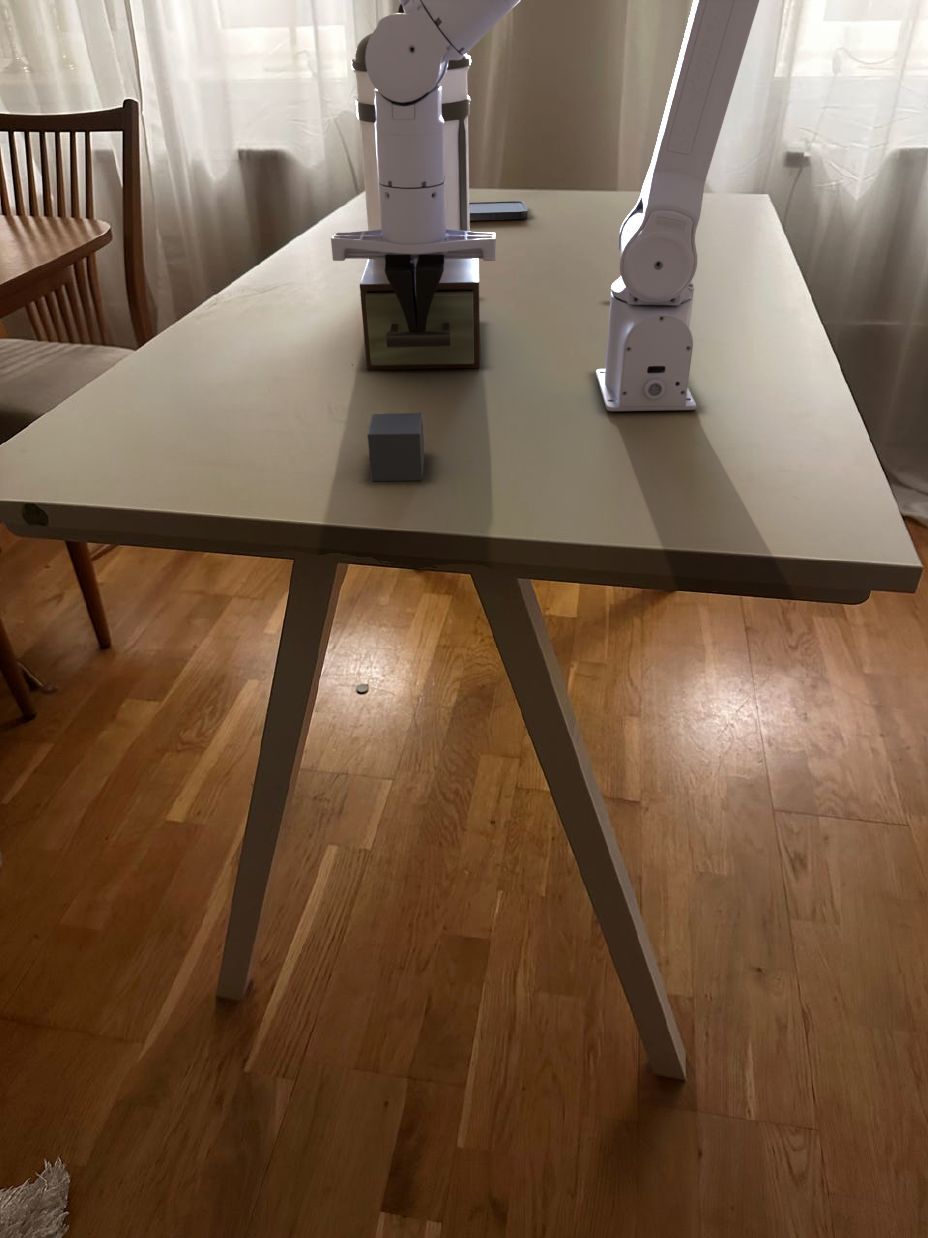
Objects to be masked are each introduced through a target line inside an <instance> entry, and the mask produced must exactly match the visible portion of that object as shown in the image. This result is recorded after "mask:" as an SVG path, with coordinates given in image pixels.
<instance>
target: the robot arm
mask: <svg viewBox="0 0 928 1238" xmlns="http://www.w3.org/2000/svg"><path fill="white" fill-rule="evenodd" d="M398 2H399V3H400V4H402V6H403V9H404V12H405V13H398V12H397V13H392V14H391V13H390V14H388V15H386V16H383V17H382V18H381V19H380V20H379V21H378V22H377V25H376V27H375V29H373V32H372V35H371V37H370V39H369V41H368V44H367V48H366V55H365V61H366V69H367V72H368V75H369V78H370V80H371V82H372V84H373V85H374V87H375V88H376V89H375V107H376V122H375V131H376V148H377V165H378V183H379V200H380V217H381V230H371V231H368V230H361V231H349V232H347V231H346V232H334V233H332V236H331V238H330V245H331V256H332V261H333V262H343V261H344V262H345V260H346V259H347V260H349V259H350V260H352V259H353V260H355V259H356V260H360V259H361V260H362V259H363V260H364V259H365V260H369V259H385V274H386V277H387V279H388V281H389V283H390V284H391V286H392V288H393V290H394V292H395V294H396V296H397V298H398V300H399V302H400V305H401V307H402V310H403V313H404V315H405V319H406V322H407V325H408V330H409V332H424V331H426V322H427V317H428V313H429V309H430V306H431V303H432V299H433V297H434V294H435V291H436V289H437V286H438V284H439V282H440V279H441V277H442V274H443V271H444V264H445V259H479V260H482V261H484V262H495V261H496V245H497V244H496V241H497V239H496V238H497V237H496V236H497V235H496V234H497V233H496V232H481V231H480V232H479V231H470V232H469V231H459V230H449V229H446V210H445V158H444V121H443V119H442V108H441V86H438V84H439V83H440V81H441V80H442V78H443V77H444V75H445V72H446V70H447V66H448V61H449V60H460V59H462V58H463V57H464V55H466V54H467V55H468V53H469V52H470V51H471V50H472V49H473V48H474V47H475V46H476V45H477V44H478V43H479V42H480V41H481V40H482V39H483V38H484V37H485V36H486V35H487V34H488V33H490V31H492V29H493V28H495V26H496V25H498V23H500V21H501V20H503V18H504V17H506V15H507V14H508V13H510V12H511V10H512V9H513V8H515V7H516V6H517V5H518V4H519V3H520V2H521V0H398ZM759 4H760V0H693V2H692V6H691V11H690V15H689V17H688V22H687V26H686V29H685V33H684V38H683V41H682V44H681V47H680V48H681V49H680V52H679V56H678V60H677V63H676V67H675V71H674V75H673V78H672V82H671V86H670V90H669V94H668V97H667V100H666V101H667V102H666V105H665V109H664V113H663V117H662V121H661V125H660V128H659V131H658V136H657V140H656V143H655V147H654V151H653V155H652V159H651V163H650V166H649V168H648V171H647V173H646V176H645V179H644V181H643V184H642V188H641V192H640V195H639V197H638V201H637V203H636V205H635V206H634V207H633V208H632V210H631V211H630V212H629V214H628V215H627V216H625V217H626V218H625V219H624V221H623V222H622V224H621V227H620V229H619V233H618V249H619V253H620V257H619V275H620V277H618V279H616V280H615V281H614V282H613V283H612V284H611V288H610V301H609V302H610V303H609V304H610V305H609V314H608V315H609V317H608V328H607V340H606V341H607V342H606V346H607V347H606V354H605V355H606V356H605V368H598V369H596V371H595V375H596V378H597V383H598V386H599V389H600V392H601V396H602V398H603V399H602V400H603V402H604V405H605V408H606V410H607V411H608V412H649V411H651V412H652V411H657V412H658V411H659V412H660V411H661V412H662V411H694V410H696V409H697V403H696V401H695V399H694V397H693V395H692V393H691V391H690V389H689V381H690V380H689V379H690V373H691V364H692V358H693V349H694V337H693V334H692V331H691V327H690V325H691V318H692V312H693V311H692V310H693V302H694V293H695V287H694V283H693V279H694V278H695V275H696V273H697V272H696V271H697V268H698V252H697V246H696V245H697V244H696V233H697V229H698V225H699V222H700V218H701V214H702V213H701V212H702V206H703V199H704V198H703V197H704V191H705V185H706V181H707V177H708V174H709V170H710V167H711V164H712V161H713V157H714V154H715V152H716V151H715V150H716V147H717V143H718V140H719V138H720V133H721V132H722V131H721V130H722V127H723V124H724V120H725V117H726V114H727V110H728V108H729V104H730V100H731V97H732V93H733V90H734V88H735V83H736V80H737V77H738V73H739V71H740V67H741V64H742V60H743V56H744V54H745V51H746V47H747V43H748V40H749V37H750V33H751V30H752V27H753V24H754V21H755V17H756V14H757V10H758V7H759ZM416 259H418V260H417V264H416ZM416 288H417V301H416ZM417 305H418V310H417Z"/></svg>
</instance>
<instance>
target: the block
mask: <svg viewBox="0 0 928 1238" xmlns="http://www.w3.org/2000/svg"><path fill="white" fill-rule="evenodd" d="M423 422H424V421H423V413H422V412H409V413H408V412H404V413H403V412H402V413H398V412H397V413H396V412H395V413H372V414H371V418H370V422H369V428H368V431H367V442H368V443H367V444H368V454H369V455H368V456H369V466H370V476H371V477H370V480H371V482H408V481H409V482H412V481H414V482H415V481H416V482H417V481H419V482H420V481H422V480H423V476H424V466H425V443H424V440H425V439H424V425H423V424H424V423H423Z"/></svg>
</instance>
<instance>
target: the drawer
mask: <svg viewBox="0 0 928 1238" xmlns="http://www.w3.org/2000/svg"><path fill="white" fill-rule="evenodd" d="M416 301H417V291H416ZM366 309H367V322H368V334H369V346H370V358H371V365H423V364H474V328H473V291H468V290H436V291H435V294H434V297H433V299H432V303H431V306H430V309H429V313H428V317H427V322H426V331H424V332H409V330H408V325H407V322H406V319H405V315H404V313H403V310H402V307H401V305H400V302H399V300H398V298H397V296H396V294H395V292H394V291H374V293H367V294H366ZM417 310H418V305H417Z"/></svg>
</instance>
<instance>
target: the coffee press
mask: <svg viewBox="0 0 928 1238" xmlns="http://www.w3.org/2000/svg"><path fill="white" fill-rule="evenodd" d="M397 13H405V12H404V9H403V6H402V4H401V3H400V4H399V6H398V11H397ZM372 33H373V32H372ZM372 33H369V34H367V35H366V36H364V37H363V38H362V39H361V40H360V41H359V43H358V44H357V46H356V49H355V56H354V58H352V59H351V61H350V63H351V69H352V71H353V73H354V74H355V79H356V91H357V99H356V100H355V105H356V117H357V119H358V120H359V129H360V142H361V143H360V144H361V152H362V153H361V155H362V167H363V168H362V169H363V180H364V181H363V182H364V194H365V205H366V206H365V207H366V218H367V220H366V221H367V231H371V230H381V217H380V200H379V183H378V165H377V148H376V131H375V122H376V107H375V89H376V88H375V87H374V85H373V84H372V82H371V80H370V78H369V75H368V72H367V69H366V61H365V55H366V48H367V44H368V41H369V39H370V37H371V35H372ZM471 63H472V59H471V56H470V55H468V53H467V54H466V55H464V57H463V58H462V59H460V60H449V61H448V66H447V70H446V72H445V75H444V77H443V78H442V80H441V81H440V83H439V84H438V86H441V108H442V119H443V121H444V158H445V210H446V229H449V230H459V231H469V232H471V230H470V226H471V225H470V224H471V223H470V219H469V203H470V168H469V167H470V166H469V165H470V164H469V163H470V162H469V161H470V160H469V159H470V157H469V156H470V155H469V117H470V115H471V97H470V96H469V95H468V72H469V70H470V67H471Z"/></svg>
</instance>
